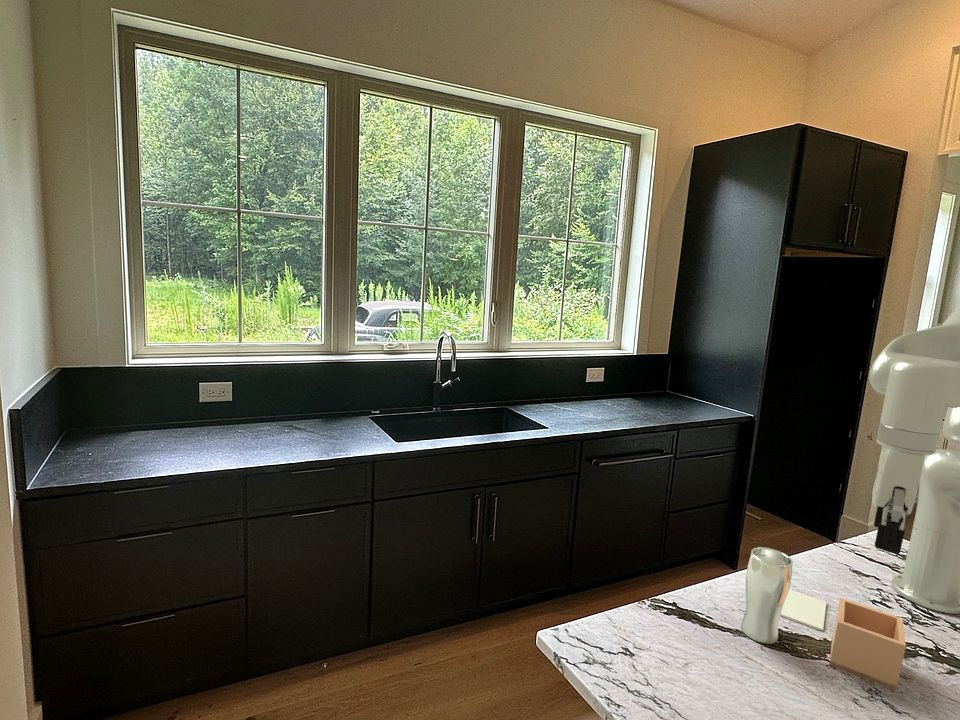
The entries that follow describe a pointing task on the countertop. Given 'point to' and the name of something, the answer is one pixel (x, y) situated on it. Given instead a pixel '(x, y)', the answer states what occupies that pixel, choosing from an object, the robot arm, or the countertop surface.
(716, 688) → the countertop surface
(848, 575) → the countertop surface
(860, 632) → the open box
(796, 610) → the plain cream tile
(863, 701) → the countertop surface
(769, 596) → the beer glass
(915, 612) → the countertop surface
